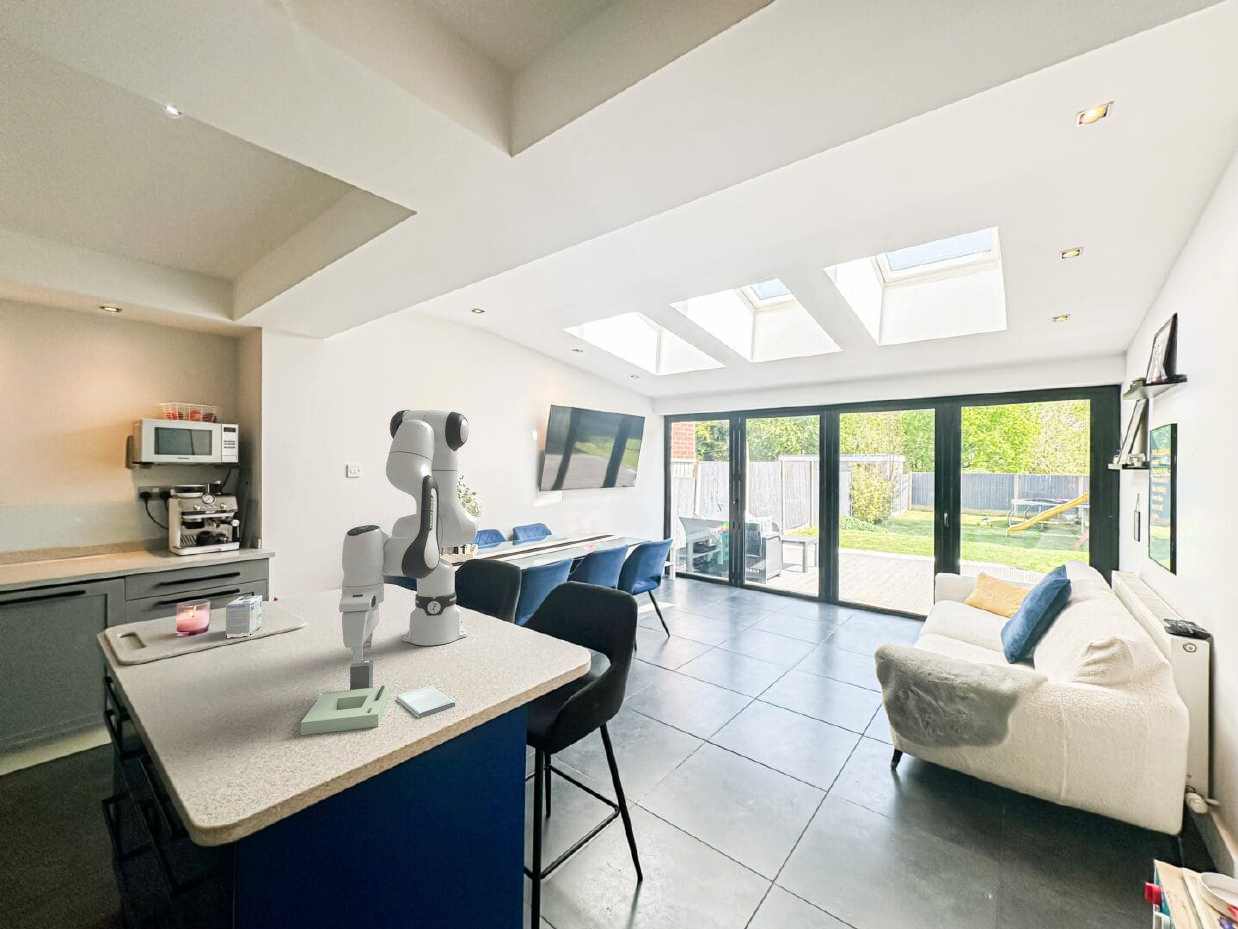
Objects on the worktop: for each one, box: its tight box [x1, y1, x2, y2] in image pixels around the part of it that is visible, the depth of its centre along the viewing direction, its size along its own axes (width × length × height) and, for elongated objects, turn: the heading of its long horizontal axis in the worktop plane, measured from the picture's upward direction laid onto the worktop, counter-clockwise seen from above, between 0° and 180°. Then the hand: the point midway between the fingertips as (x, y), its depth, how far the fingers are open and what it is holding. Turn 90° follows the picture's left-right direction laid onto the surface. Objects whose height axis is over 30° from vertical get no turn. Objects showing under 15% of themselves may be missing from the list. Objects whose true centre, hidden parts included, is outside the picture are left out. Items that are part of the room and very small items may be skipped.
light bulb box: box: [225, 595, 263, 636], centre depth 164 cm, size 11×7×11 cm, turn 17°
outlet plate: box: [300, 685, 392, 736], centre depth 109 cm, size 14×14×3 cm
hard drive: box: [395, 685, 456, 719], centre depth 114 cm, size 2×8×12 cm
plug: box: [349, 659, 374, 690], centre depth 119 cm, size 4×4×7 cm
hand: (362, 655), depth 119 cm, fingers open, 8 cm apart
